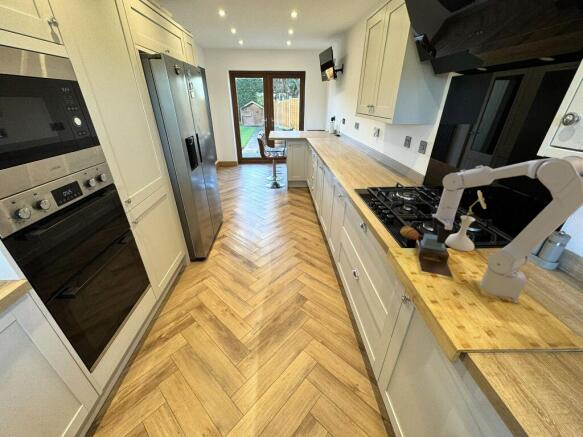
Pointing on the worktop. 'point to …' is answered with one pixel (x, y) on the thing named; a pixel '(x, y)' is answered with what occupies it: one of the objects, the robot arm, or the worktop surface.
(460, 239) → the flower in vase
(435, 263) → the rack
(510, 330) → the worktop surface
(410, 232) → the pastry
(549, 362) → the worktop surface
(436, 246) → the blue-grey block
